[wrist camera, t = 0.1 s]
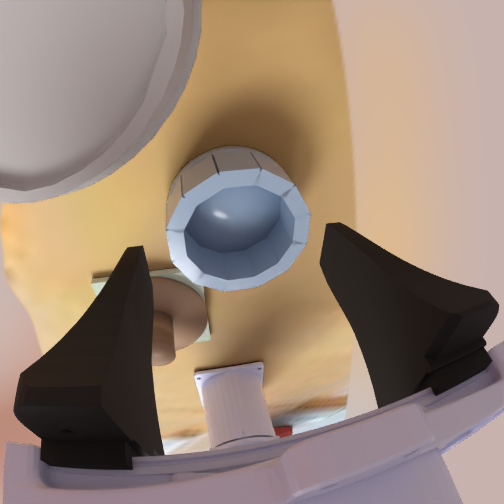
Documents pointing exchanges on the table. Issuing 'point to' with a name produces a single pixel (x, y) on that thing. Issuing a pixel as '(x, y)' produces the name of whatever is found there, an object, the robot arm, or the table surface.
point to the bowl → (234, 219)
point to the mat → (168, 273)
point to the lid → (175, 318)
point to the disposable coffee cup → (86, 87)
